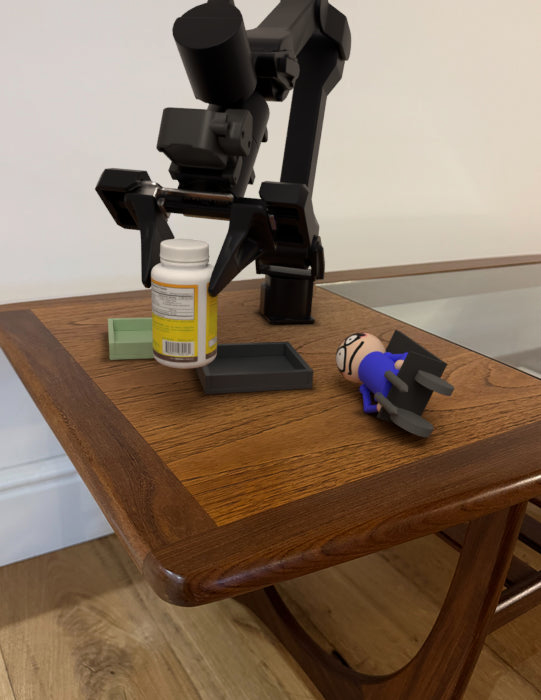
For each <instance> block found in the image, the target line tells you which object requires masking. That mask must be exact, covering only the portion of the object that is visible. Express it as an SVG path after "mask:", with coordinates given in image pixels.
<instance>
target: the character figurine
mask: <svg viewBox="0 0 541 700" xmlns="http://www.w3.org/2000/svg"><path fill="white" fill-rule="evenodd" d="M335 365H336V368H337V370H338V372H339V373H340V374H341V376H342V377H343V378H344V379H346V380H347V381H349V382H352V383H355V384H361V385H360V386H359V389H358V391H359V393H360V394H361V395H362V401H363V412H364V413H365V414H372V413H377V415H376V418H377V419H378V420H383V421H386V422H389V423H393V424H395V425H397V426H398V427H400V428H402V429H403V430H405V431H406V432H409V433H411V434H413V435H416V436H418V437H422V438H430V436H431V435H432V433H433V431H434V429H435V426H434V425H433V423H431V422H429V420H427V419H425V418H424V417H422V416H423V414H424V411H425V410H426V407H428V403H429V401H431V398H432V395H433V394H434V392H435V393H437V394H440V395H443V396H446V397H451V396H452V394H453V393H454V391H455V386H454V385H452V384H451V383H449V382H448V381H446V380H445V379H443V378H442V376H443V374H444V372H445V370H446V368H447V367H448V363H447V362H445V361H444V360H443V359H441V358H440V357H438V356H437V355H435V354H434V353H433V352H431V351H430V350H428V349H426V347H424V346H423V345H421V344H419V343H418V342H417V341H415V340H414V339H412V338H411V337H410V336H408V335H407V334H405V333H404V332H402V331H400V330H398V329H394V332H393V334H392V335H391V338H390V340H389V342H388V344H387V346H386V348H385V345H384V344H383V342H382V341H381V340H380V339H379V338H378V337H377V336H375V335H374V334H372V333H368V332H361V331H360V332H355V333H352V334H350V335H348V336H346V337H345V338H344V339H343V340H342V341H340V343H339V345H338V347H337V349H336V353H335ZM372 394H373V398H374V401H375V402H377V404H372V396H371V395H372Z"/></svg>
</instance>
